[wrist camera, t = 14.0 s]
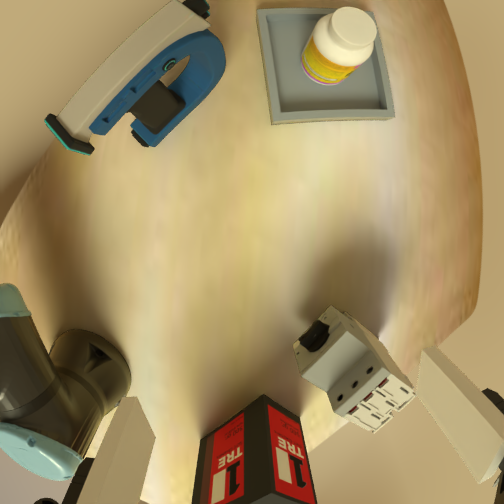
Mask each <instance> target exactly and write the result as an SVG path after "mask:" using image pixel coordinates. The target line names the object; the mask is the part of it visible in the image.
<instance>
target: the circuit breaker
mask: <svg viewBox="0 0 504 504" xmlns="http://www.w3.org/2000/svg"><path fill="white" fill-rule="evenodd" d="M293 348H294V352H295V356H296V360H297V363H298V367H299V371H300V374H301V377H303V378H304V379H306V380H307V381H309V382H310V383H312V384H314V385H315V386H317V387H318V388H320V389H322V390H323V391H325V392H326V393H327V395H328V397H329V400H330V403H331V406H332V409H333V412H334V413H336V414H338V415H340V416H341V417H343V418H345V419H347V420H349V421H351V422H353V423H354V424H356V425H358V426H360V427H362V428H364V429H366V430H368V431H370V430H371V429H372V430H373V431H372V432H373V433H375V432H377V431H378V430H379V429H380V428H381V427H383V426H384V425H385V424H386V423H387V422H388V421H390V420H391V419H392V418H393V415H392V412H391V411H392V410H393V409H394V410H396V411H397V412H400V411H401V410H402V409H403V408H404V407H405V406H406V405H407V404H408V403H410V402H411V401H412V400H413V399H414V398H415V397H416V396H417V395H416V394H415V393H416V392H415V393H414V390H413V388H414V386H413V385H412V383H411V382H410V381H409V379H408V378H407V377H406V376H405V375H404V374H403V373H402V372H401V370H400V369H399V368H398V366H397V365H396V363H395V362H394V361H393V359H392V358H391V356H390V355H389V352H388V350H387V349H386V348H385V346H384V345H383V344H382V343H381V342H380V341H379V338H377V337H375V336H374V334H373V333H371V332H370V331H369V330H368V329H367V328H365V327H364V326H363V325H362V324H360V323H359V322H358V321H357V320H356V319H354V318H353V317H352V316H351V315H349V314H348V313H347V312H346V311H345V312H344V313H343V314H342V313H341V312H339V311H338V310H337V309H336V308H334V307H333V306H332V305H330V306H329V307H328V308H327V309H326V311H325V312H324V313H323V314H322V315H321V316H320V317H319V318H318V319H317V320H316V321H315V322H314V324H313V325H312V327H310V328H309V329H308V330H307V331H306V332H305V333H304V334H303V335H302V336H301V337H300V338H299V339H298V340H297V341H296V342H295V343H294V344H293ZM405 401H406V402H405ZM403 402H404V403H403ZM402 403H403V404H402ZM401 404H402V405H401ZM400 405H401V406H400ZM387 417H388V418H387ZM385 418H387V419H386V420H384V419H385ZM383 420H384V421H383Z"/></svg>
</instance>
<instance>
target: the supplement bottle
mask: <svg viewBox="0 0 504 504" xmlns="http://www.w3.org/2000/svg"><path fill="white" fill-rule="evenodd" d="M376 34H377V29H376V25H375V23H374V21H373V20H372V18H371V17H370V16H369V15H368V14H367V13H365V12H364V11H362V10H360V9H358V8H355V7H342V8H339V9H337V10H336V11H335V12H334V13H331V14H328V15H326V16H324V17H322V18H321V19H320V20H319V21H318V22H317V24H316V26H315V28H314V30H313V32H312V34H311V36H310V38H309V40H308V42H307V44H306V46H305V47H304V50H303V52H302V54H301V66H302V69H303V71H304V72H305V74H306V75H307V76H308V77H309V78H310V79H311V80H313V81H314V82H316V83H319V84H322V85H336V84H339V83H341V82H342V81H344V80H345V79H346V78H347V77H348V76H349V75H350V74H351V73H353V72H354V71H355V70H356V69H357V68H358V67H359V66H360V65H361V64H362V63H364V62H365V61H366V60H367V59H368V58H369V57H370V55H371V53H372V51H373V46H374V42H373V41H374V39H375V38H376Z"/></svg>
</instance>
